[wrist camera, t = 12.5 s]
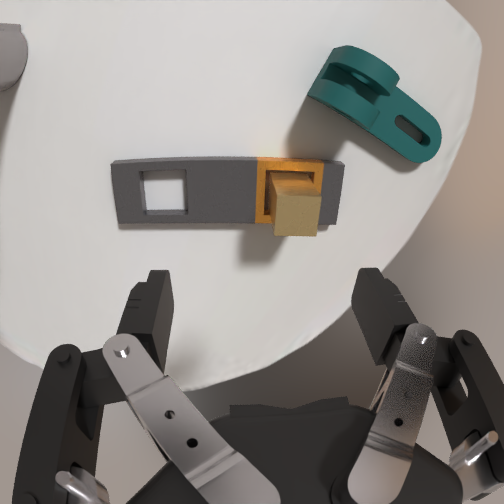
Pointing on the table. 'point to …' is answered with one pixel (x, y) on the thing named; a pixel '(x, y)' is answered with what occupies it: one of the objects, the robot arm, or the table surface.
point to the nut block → (293, 204)
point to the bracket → (375, 101)
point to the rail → (220, 188)
